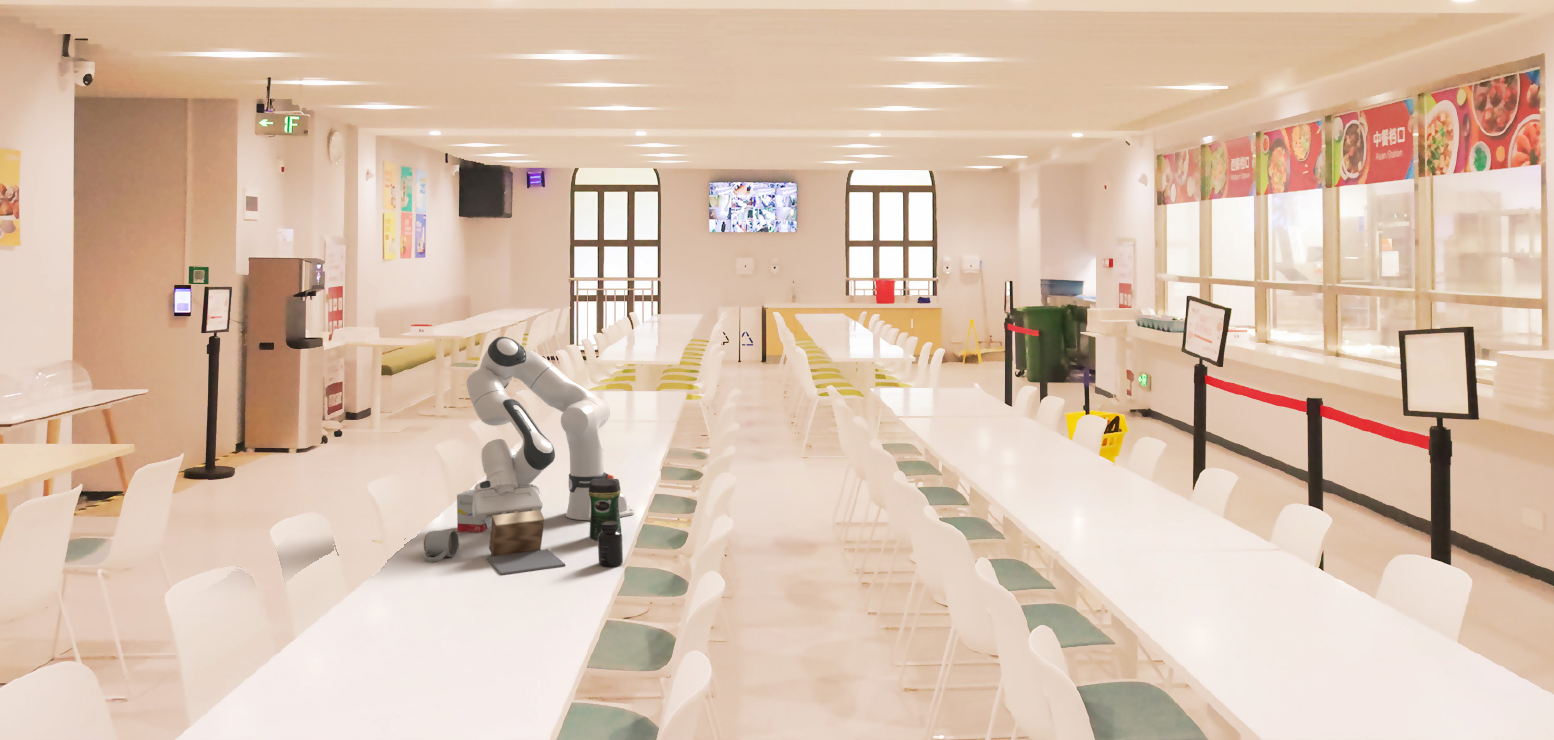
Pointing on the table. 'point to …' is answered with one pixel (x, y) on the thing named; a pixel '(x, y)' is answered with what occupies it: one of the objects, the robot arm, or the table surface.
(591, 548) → the table surface
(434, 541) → the ceramic mug
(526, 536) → the walnut slab
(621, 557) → the supplement bottle
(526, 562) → the mat
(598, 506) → the coffee jar
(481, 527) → the ink box
